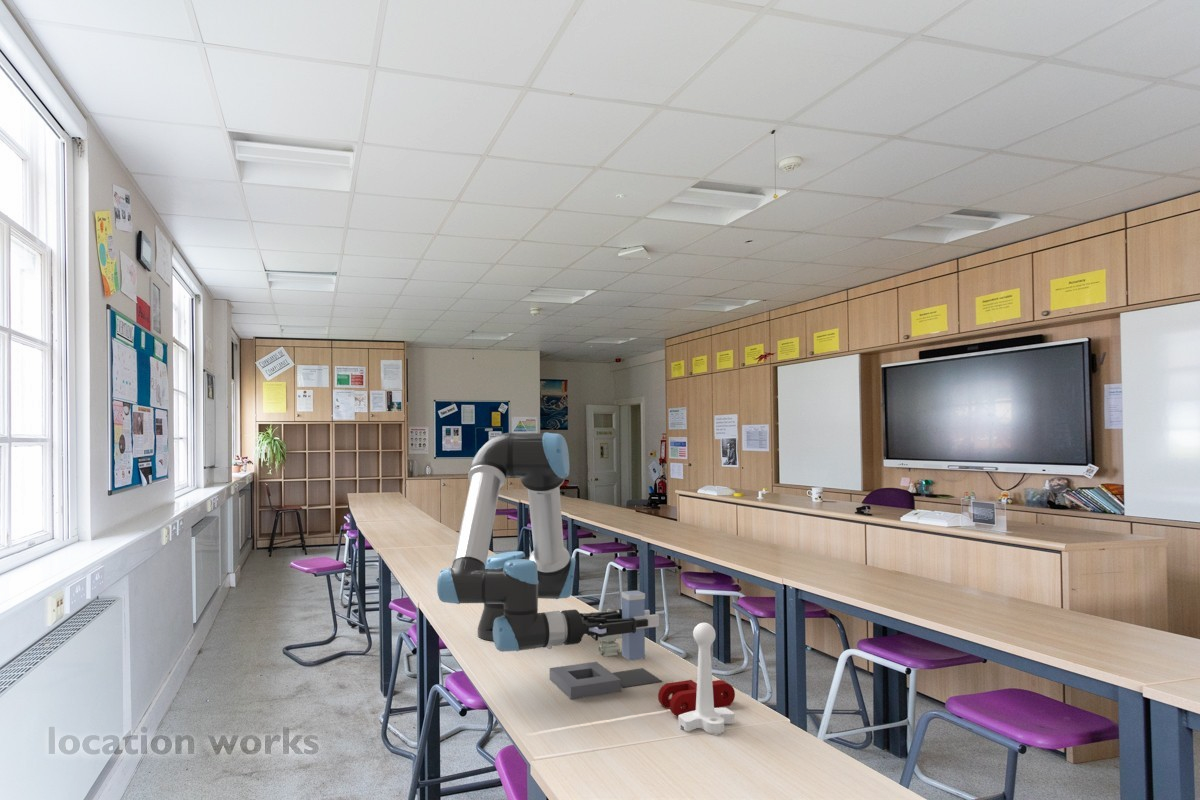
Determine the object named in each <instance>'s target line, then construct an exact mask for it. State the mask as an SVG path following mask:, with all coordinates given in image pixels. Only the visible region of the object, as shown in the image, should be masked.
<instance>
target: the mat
mask: <svg viewBox="0 0 1200 800" xmlns="http://www.w3.org/2000/svg"><path fill="white" fill-rule="evenodd" d="M612 673H613V674H614V675H615V676H617V677H618V678H619V679H621V688H622V689H625V688H626V689H627V688H631V687H638V686H644V685H645V686H646V685H651V684H658V683H662V682H663V680H662V679H660V678H659V677H657V676H655V675H654V674H653V673H651V672H649V671H648V670H646V669H645V668H644V667H642V668H641V667H640V668H635V669H627V670H621V671H614V672H612Z"/></svg>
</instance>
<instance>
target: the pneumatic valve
mask: <svg viewBox="0 0 1200 800" xmlns="http://www.w3.org/2000/svg"><path fill="white" fill-rule="evenodd" d="M608 611H612V609H611V608H607V610H606V611H601V612H608ZM617 611H618V612H619V609H617ZM597 612H598V611H596V612H595V611H593V612H591V613H597ZM586 635H587V636H588V634H586ZM590 637H591V638H592V639H593V640H594V641H595V642H600V641H601V642H600V644H599V645H598V654H599V655H602V657H613V656H618V655H619V654H618V653H620V651H621V647H620V643H618V642H616V641H617V640H619V639H620V640H622V634H616V635H609V636H604V637H598V634H596V635H594V636H590Z"/></svg>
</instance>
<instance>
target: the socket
mask: <svg viewBox="0 0 1200 800" xmlns="http://www.w3.org/2000/svg"><path fill="white" fill-rule="evenodd" d="M549 681H550V682H551V683H553V684H554V685H555V686H556V687H557V688H558V689H559V691H561V692H562V693H563V694H564V695H565V696H566V697H567V698H569V700H577V699H583V698H589V697H597V696H603V695H609V694H615V693H620V692H622V687H621V679H619V678H618V677H617V676H615V675H614V674H613V672H611V671H610V670H608V668H606V667H604V666H603V665H602V664H600V663H599V662H597V661H591V662H585V663H577V664H570V665H562V666H555V667H549Z"/></svg>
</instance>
